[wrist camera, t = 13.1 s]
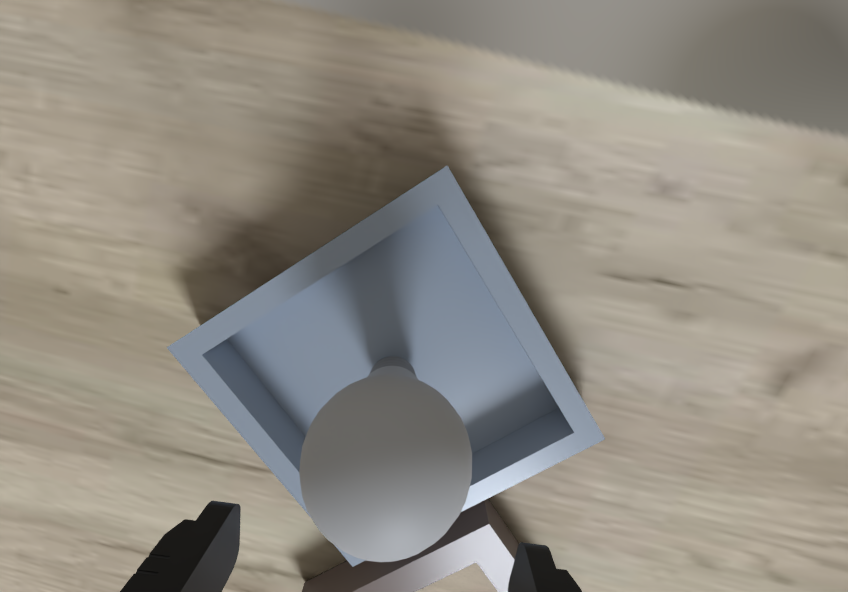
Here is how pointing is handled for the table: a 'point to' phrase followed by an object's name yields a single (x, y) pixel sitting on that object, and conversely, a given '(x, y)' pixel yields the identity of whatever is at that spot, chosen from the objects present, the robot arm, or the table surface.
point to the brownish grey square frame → (433, 559)
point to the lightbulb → (386, 465)
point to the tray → (395, 342)
